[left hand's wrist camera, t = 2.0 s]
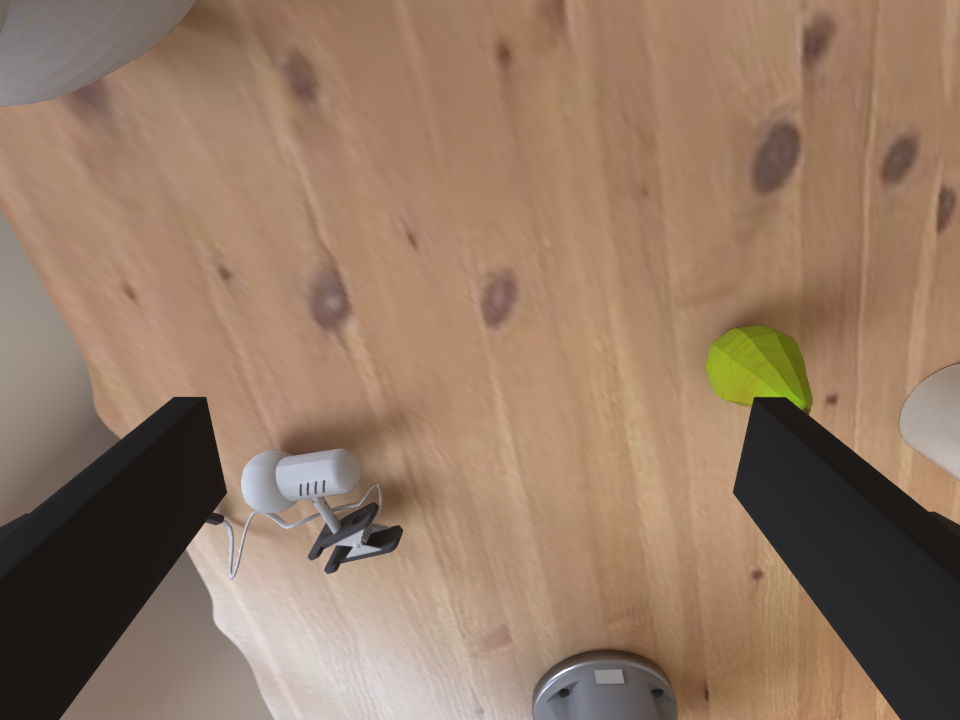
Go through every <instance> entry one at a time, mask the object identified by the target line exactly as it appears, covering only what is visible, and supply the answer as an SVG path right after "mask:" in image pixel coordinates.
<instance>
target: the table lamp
mask: <svg viewBox="0 0 960 720" xmlns="http://www.w3.org/2000/svg"><path fill="white" fill-rule="evenodd" d="M195 2H196V0H0V106H16V105H24V104H31V103H37V102H41V101H45V100H50V99H54V98H57V97H60V96H63V95H66V94H68V93H70V92H73V91H75V90H77V89H79V88H82V87H84V86H86V85H89V84H91V83H93V82H95V81H97V80H99V79H101V78H102V77H104V76H106V75H108V74H110V73H111V72H113V71H115V70H117V69H119V68H120V67H122V66H124V65H126V64H128V63H129V62H131V61H132V60H134V59H135V58H137V57H139V56H140V55H142V54H143V53H144V52H146V51H147V50H149V49H150V48H152V47H153V46H155V45H156V44H157V43H158V42H159V41H160V40H161V39H163V38H164V37H165V36H166V35H167V34H168V33H170V32H171V31H172V30H173V29H174V28H175V27H176V26H177V25H178V24H179V23H180V21H181V20H182V19H183V18H184V17H185V16H186V14H187V13H188V12H189V11H190V9H191V8H192V6H193V5H194V3H195Z"/></svg>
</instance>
